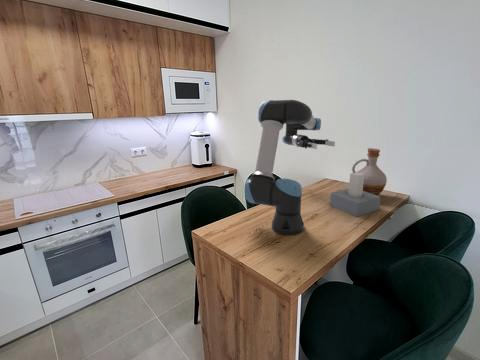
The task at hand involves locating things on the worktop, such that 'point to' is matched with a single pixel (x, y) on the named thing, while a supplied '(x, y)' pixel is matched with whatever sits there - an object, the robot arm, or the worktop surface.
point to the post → (356, 184)
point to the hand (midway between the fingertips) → (325, 145)
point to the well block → (355, 202)
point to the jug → (372, 173)
